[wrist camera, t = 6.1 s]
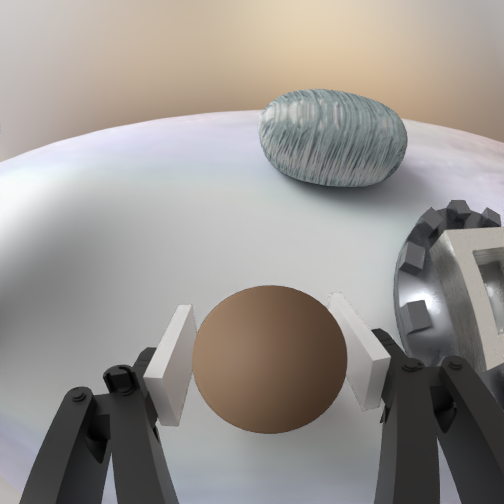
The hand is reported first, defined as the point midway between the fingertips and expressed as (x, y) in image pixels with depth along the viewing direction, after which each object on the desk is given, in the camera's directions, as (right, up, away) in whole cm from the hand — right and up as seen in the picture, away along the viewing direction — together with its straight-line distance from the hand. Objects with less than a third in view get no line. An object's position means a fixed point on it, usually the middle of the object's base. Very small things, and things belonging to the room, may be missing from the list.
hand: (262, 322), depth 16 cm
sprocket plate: (+20, -1, +3) cm, 20 cm away
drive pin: (0, -5, +2) cm, 5 cm away
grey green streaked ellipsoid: (+7, +12, +12) cm, 18 cm away
